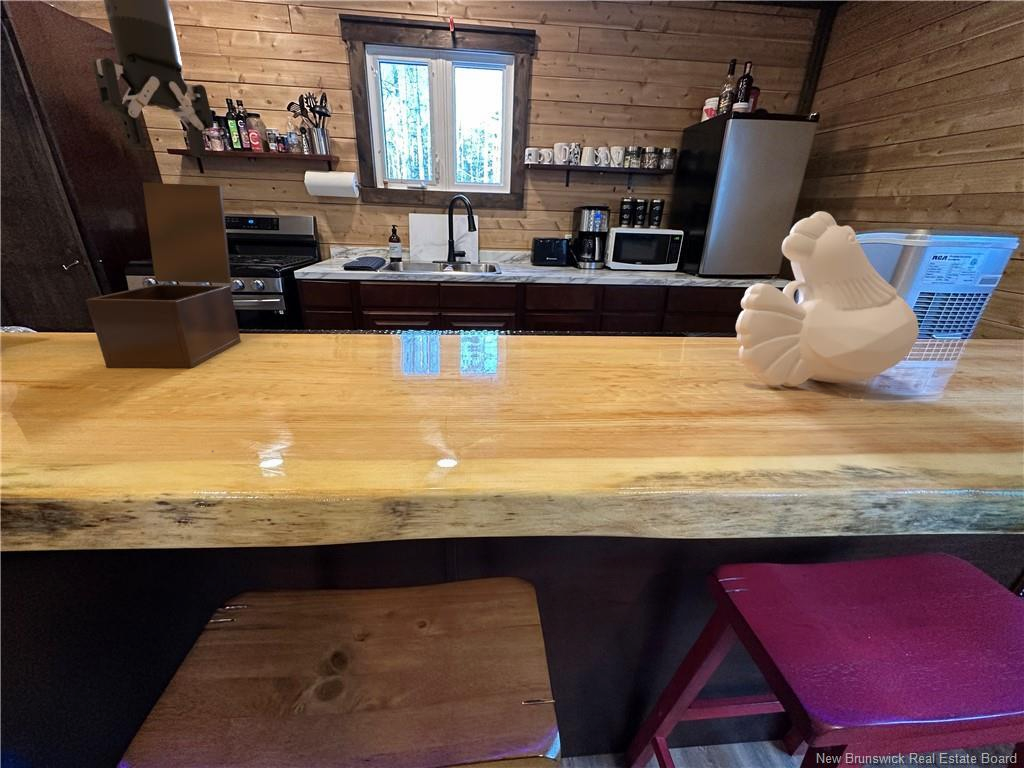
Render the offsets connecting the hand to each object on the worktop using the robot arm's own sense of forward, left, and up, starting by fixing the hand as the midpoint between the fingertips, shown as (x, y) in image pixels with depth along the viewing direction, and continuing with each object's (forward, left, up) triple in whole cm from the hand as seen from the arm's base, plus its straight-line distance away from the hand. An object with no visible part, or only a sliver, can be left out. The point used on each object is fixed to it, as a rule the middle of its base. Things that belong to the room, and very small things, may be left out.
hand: (170, 152), depth 67 cm
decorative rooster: (+99, -19, -30) cm, 105 cm away
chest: (0, -9, -30) cm, 31 cm away
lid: (0, 0, -12) cm, 12 cm away
